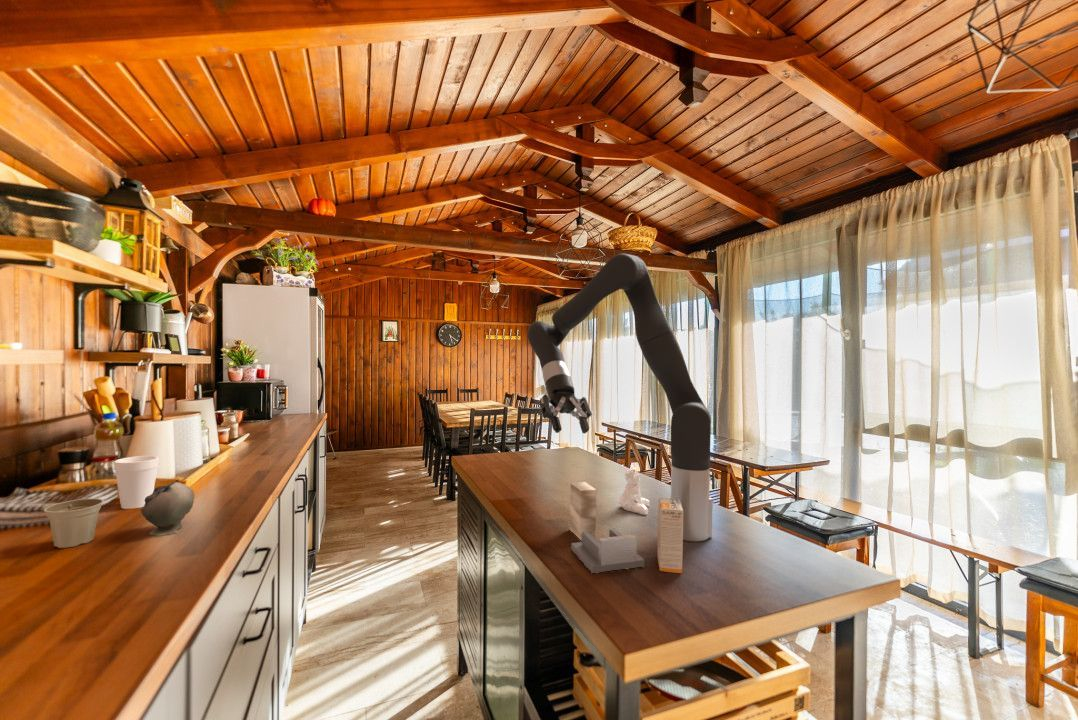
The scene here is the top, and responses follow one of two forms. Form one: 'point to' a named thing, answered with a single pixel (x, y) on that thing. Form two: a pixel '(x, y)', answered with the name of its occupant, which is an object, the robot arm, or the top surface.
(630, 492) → the sitting furry creature
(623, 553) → the cradle
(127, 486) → the foam cup
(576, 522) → the brown paper bag
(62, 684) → the top surface
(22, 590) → the top surface
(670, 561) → the supplement box
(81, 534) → the flower pot
